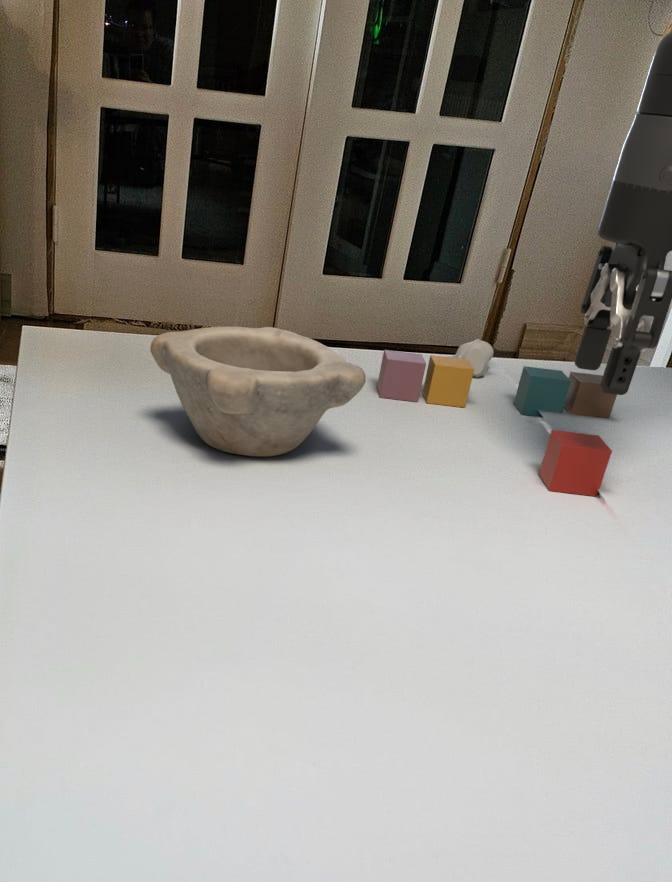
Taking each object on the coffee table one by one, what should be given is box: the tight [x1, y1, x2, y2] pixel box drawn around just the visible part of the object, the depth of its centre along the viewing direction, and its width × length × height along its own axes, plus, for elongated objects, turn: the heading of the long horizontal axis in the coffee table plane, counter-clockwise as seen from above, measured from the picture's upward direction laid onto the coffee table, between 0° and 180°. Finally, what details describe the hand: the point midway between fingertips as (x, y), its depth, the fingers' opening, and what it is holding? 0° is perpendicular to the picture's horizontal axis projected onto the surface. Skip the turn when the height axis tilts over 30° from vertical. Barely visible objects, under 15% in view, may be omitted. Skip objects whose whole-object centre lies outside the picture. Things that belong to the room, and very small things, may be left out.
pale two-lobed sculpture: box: [452, 338, 495, 378], centre depth 124 cm, size 4×8×5 cm
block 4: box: [563, 371, 618, 420], centre depth 110 cm, size 4×4×4 cm
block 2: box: [422, 354, 474, 409], centre depth 110 cm, size 4×4×4 cm
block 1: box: [376, 349, 427, 403], centre depth 111 cm, size 4×4×4 cm
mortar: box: [149, 326, 366, 457], centre depth 90 cm, size 17×17×9 cm
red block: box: [538, 429, 613, 497], centre depth 89 cm, size 4×4×4 cm
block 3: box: [513, 365, 571, 418], centre depth 110 cm, size 4×4×4 cm
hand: (598, 380), depth 85 cm, fingers open, 8 cm apart
